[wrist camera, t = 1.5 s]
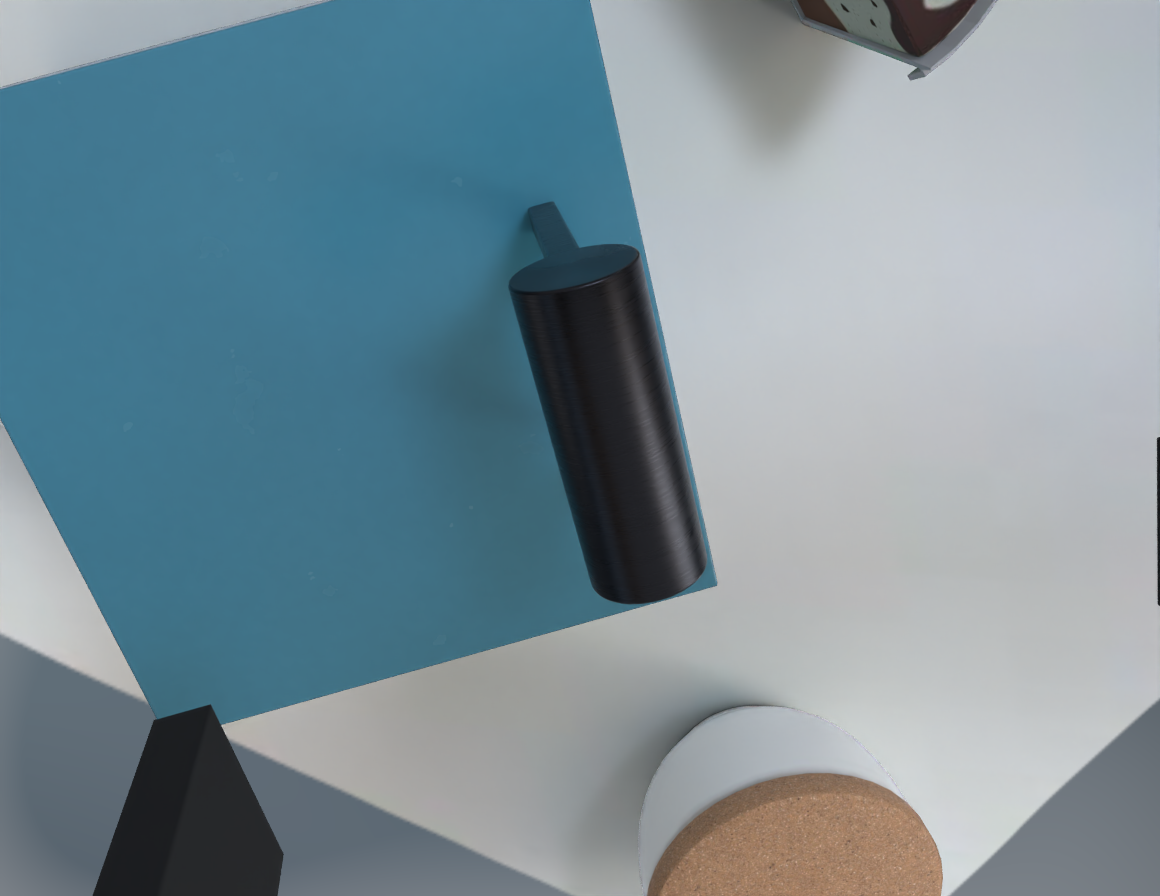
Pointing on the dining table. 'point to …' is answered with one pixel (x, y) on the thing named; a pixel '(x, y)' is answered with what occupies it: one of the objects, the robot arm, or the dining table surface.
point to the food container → (899, 26)
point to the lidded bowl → (780, 814)
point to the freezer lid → (341, 346)
